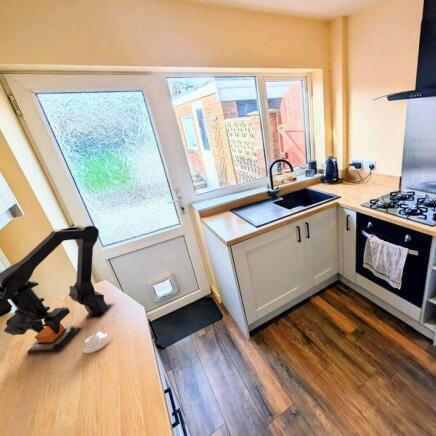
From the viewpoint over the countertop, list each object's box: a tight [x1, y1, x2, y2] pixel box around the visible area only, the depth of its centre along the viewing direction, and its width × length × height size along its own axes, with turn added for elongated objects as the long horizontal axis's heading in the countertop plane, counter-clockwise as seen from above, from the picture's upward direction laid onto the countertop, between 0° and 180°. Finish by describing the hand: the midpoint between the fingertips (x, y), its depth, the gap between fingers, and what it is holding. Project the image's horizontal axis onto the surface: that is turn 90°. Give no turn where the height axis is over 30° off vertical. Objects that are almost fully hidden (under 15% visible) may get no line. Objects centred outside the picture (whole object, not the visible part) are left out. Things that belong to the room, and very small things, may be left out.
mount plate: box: [26, 325, 81, 355], centre depth 93 cm, size 12×10×2 cm
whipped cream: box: [82, 331, 110, 354], centre depth 89 cm, size 8×7×5 cm
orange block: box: [34, 323, 65, 343], centre depth 92 cm, size 6×6×3 cm
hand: (50, 333), depth 92 cm, fingers closed on orange block, 5 cm apart
